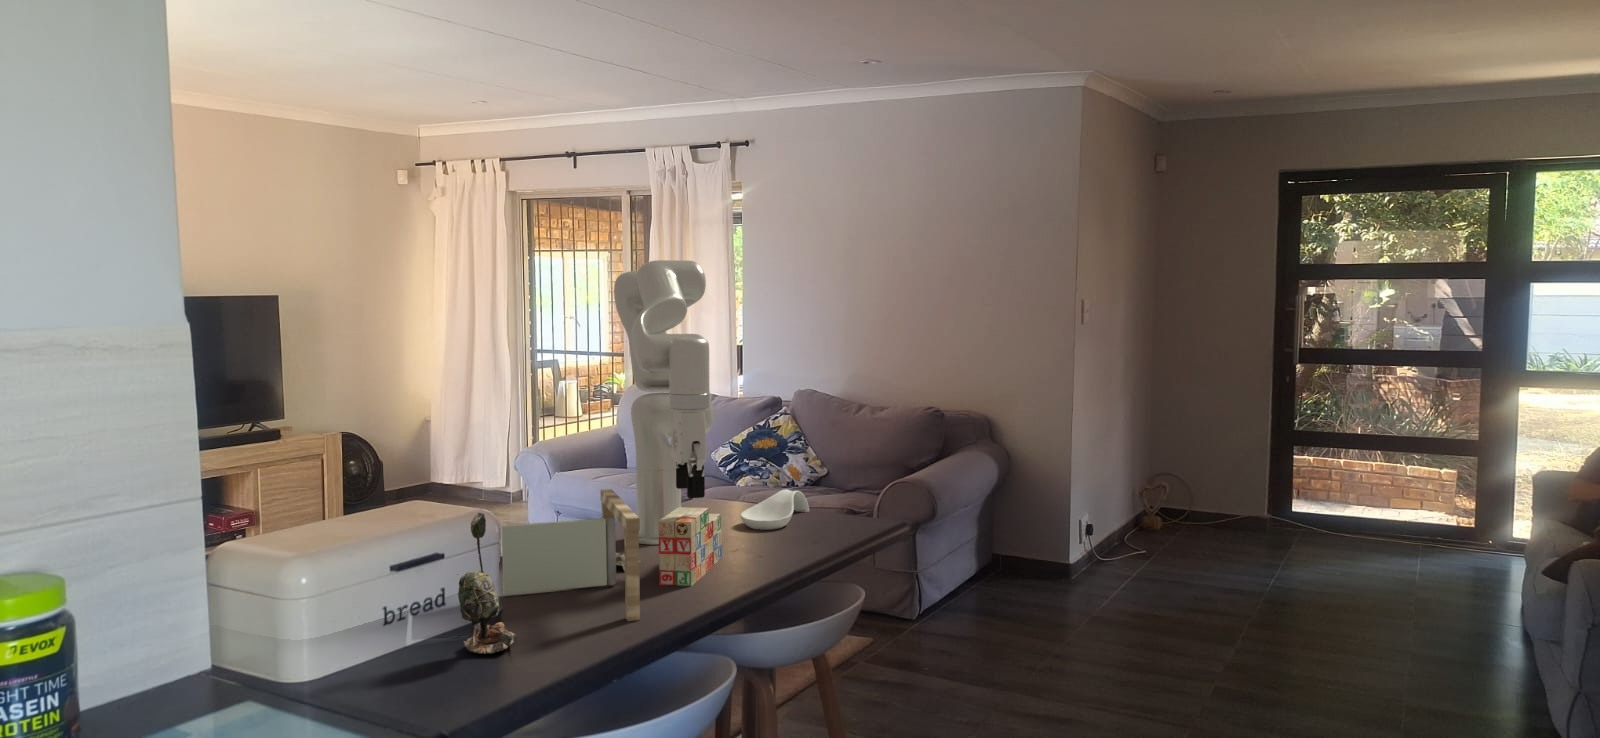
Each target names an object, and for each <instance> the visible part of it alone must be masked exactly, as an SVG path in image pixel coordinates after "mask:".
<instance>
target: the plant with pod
mask: <svg viewBox="0 0 1600 738" xmlns="http://www.w3.org/2000/svg"><path fill="white" fill-rule="evenodd" d="M486 522H487V520H486V517H485V513H483V512H477V513H476V515H475V516H474V517H473V518H472V520H471V522H470V533H471V536H472V537H473V538H474V539H476V545H477V552H478V553H477V554H478V560H479V566H480V570H475V571H468V572H466V573H464V574H463V575H461V577H460V578H459V581H458V593H457V595H458V596H457V597H458V602H459V609H460V613H461V618H462V619H463V620H464V621H468V622H471V625H472V628H471V632H470V633H471V637H470V638H467V639H466V641H465V640H463V643H464V645H463V646H464V647H465V649H466V650H467V651H469V652H471V653H472V652H473V653H476V654H494V653H496V652H497V653H498V652H499V651H504V650H506V649H508V648H509V647H510V646H511V645H512V644H513V643H515V641H514V639H515V637H516V634H515V633H514V631H512V630H508V629H507V627H506V625H505V624H504V622H500V621H499V622H496V623H495V624H494V625H491V620H492V619H493V618H495V617H497V616H498V615H499V610H500V604H499V595H498V594H497V591H496V588H495V585H494V582H493V580H492V578H491V577H490V575H489V574H488V573H487V572H485V571H484V569H483V562H482V554H481V543H480V542H481V541H480V539H481V538H483V537H484V536H485V534H486V531H487V530H486V526H487V525H486V524H487V523H486ZM456 575H457V576H458V575H459V574H458V573H457V574H456Z"/></svg>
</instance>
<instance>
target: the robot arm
mask: <svg viewBox="0 0 1600 738" xmlns="http://www.w3.org/2000/svg"><path fill="white" fill-rule="evenodd" d="M706 279H707V278H706V274H705V272H704V269H703V267H702V266H701V264H699V263H698V262H696V261H693V260H678V259H677V260H674V259H673V260H671V259H670V260H668V259H667V260H666V259H664V260H663V259H662V260H661V259H660V260H659V259H658V260H657V259H656V260H651V261H648V262H645V263H643V264H642V265H641V266H640V267H639V269H638V270H632V271H626V272H623V273H621V274H619V275H618V276H617V277H616V279H615V280H614V281H615V282H614V286H613V293H614V294H613V295H614V305H615V309H616V311H617V315H618V317H619V319H620V322H621V324H622V326H623V328H624V330H625V333H626V336H627V340H628V346H629V354H630V355H629V357H630V361H631V369H632V377H633V381H634V384H635V386H636V387H637V389H638V390H640V391H642V392H648V393H646V394H642V395H640V396H638V397H636V398H635V399H634V401H633V402H632V404H631V407H630V417H631V424H632V430H633V435H634V446H635V447H634V448H635V471H636V472H635V473H636V474H635V475H636V479H635V480H636V484H635V486H636V515H637V516H638V517H639V518H640V530H639V545H652V546H653V545H658V546H659V520H660V519H662V518H663V517H665V516H667V515H668V514H670V513H671V512H672V511H674V510H675V509H677V508H678V507H682V489H686V492H687V493H686V494H687V495H686V496H687V498H688V499H699V498H700V499H701V498H702V499H703V498H704V497H705V494H706V493H705V491H706V490H705V488H706V486H705V485H706V481H705V475H706V473H705V465H704V463H706V461H707V434H708V433H709V432H710V431H711V430H712V427H713V424H714V422H713V421H714V414H713V413H714V412H713V405H712V404H713V403H712V397H711V392H710V343H709V341H708V339H706V338H704V336H702V335H701V334H698V333H697V334H696V333H667V331H670V330H672V329H674V328H675V327H677V326H679V325H680V324H682V322H683V321H684V319H686V315H687V313H688V308H690V307H692V305H693V306H694V304H696V303H697V302H699V301H700V300H701V299H702V298H703V296H704V294H705V292H706V287H707V283H706V282H707V281H706ZM670 438H671V439H670ZM669 439H670V441H669Z"/></svg>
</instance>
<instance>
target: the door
mask: <svg viewBox="0 0 1600 738" xmlns="http://www.w3.org/2000/svg"><path fill="white" fill-rule="evenodd" d="M606 536H607V569H606ZM616 538H617V537H616V517H614V518H606V519H605V518H602V517H601V518H592V519H591V518H590V519H575V520H562V521H561V520H560V521H549V522H548V521H545V522H534V523H533V522H532V523H531V522H530V523H521V524H504V525H501V546H502V547H501V548H502V549H501V552H502V553H501V554H502V559H501V560H502V588H503V589H502V593H503V595H513V594H524V593H534V592H535V593H536V592H546V591H557V590H567V589H568V590H569V589H579V588H591V587H603V586H607V585H609V586H614V585H617V565H616V553H617V551H616V545H617V544H616V542H617V541H616Z"/></svg>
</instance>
